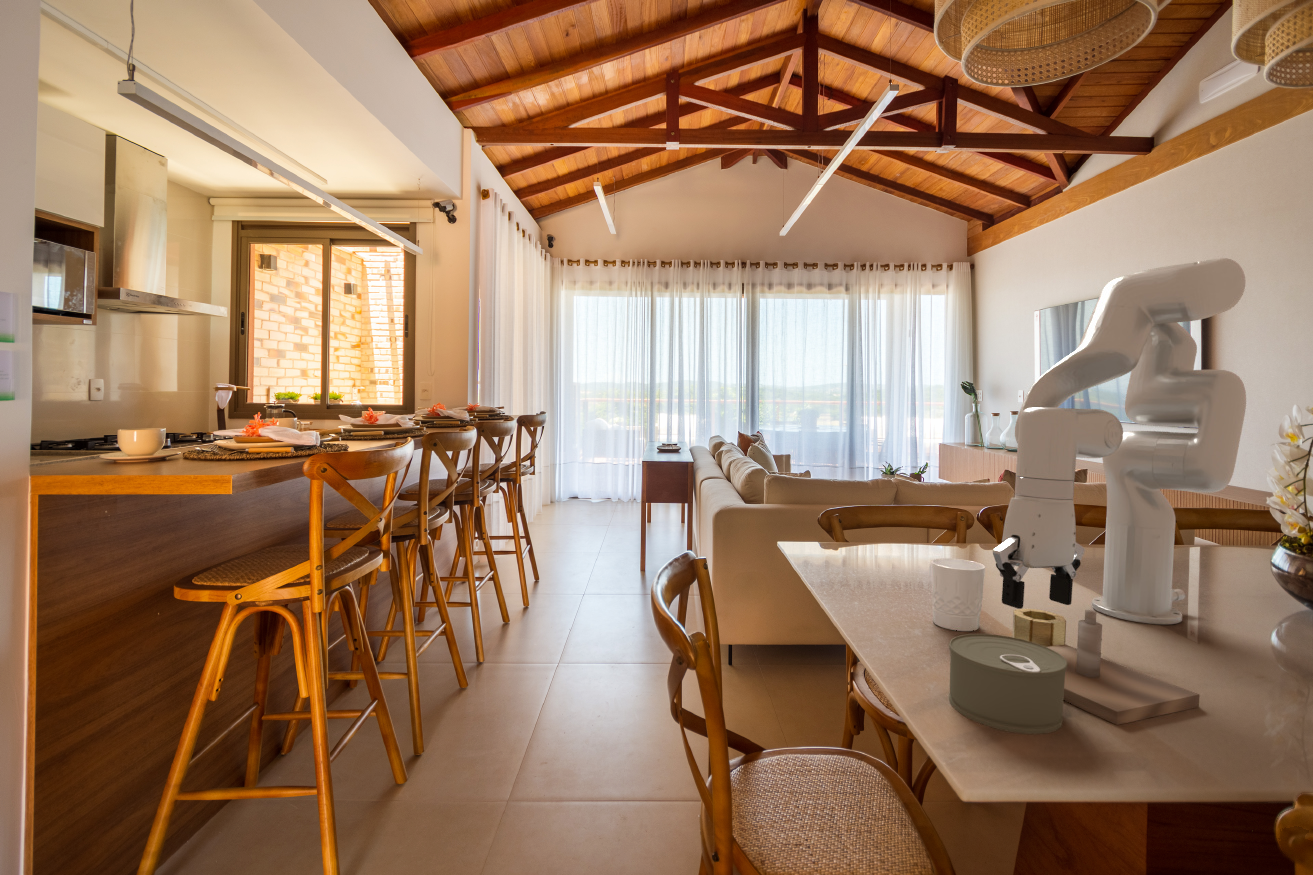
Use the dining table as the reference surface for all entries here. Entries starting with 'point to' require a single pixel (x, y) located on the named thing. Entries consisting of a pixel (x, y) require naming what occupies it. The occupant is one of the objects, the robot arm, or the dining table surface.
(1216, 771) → the dining table surface
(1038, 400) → the robot arm
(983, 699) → the can
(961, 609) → the white cup
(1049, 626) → the ring
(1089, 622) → the post block
